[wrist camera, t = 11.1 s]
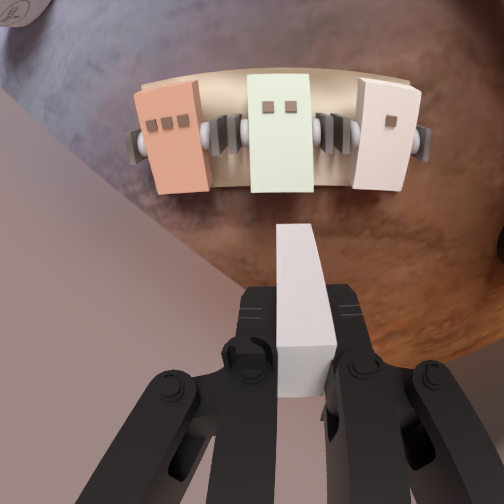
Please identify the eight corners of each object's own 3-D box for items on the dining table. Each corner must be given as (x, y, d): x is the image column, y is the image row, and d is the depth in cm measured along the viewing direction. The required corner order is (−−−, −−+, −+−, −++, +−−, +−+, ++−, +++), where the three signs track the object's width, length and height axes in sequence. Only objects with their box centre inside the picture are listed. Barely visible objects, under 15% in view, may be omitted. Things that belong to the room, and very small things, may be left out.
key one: (349, 75, 18) (358, 81, 16) (416, 86, 17) (429, 94, 16) (341, 176, 25) (346, 190, 23) (398, 179, 24) (407, 193, 23)
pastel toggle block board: (146, 85, 23) (114, 85, 18) (405, 80, 21) (436, 81, 15) (160, 187, 30) (136, 211, 24) (398, 185, 27) (424, 208, 22)
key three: (137, 90, 20) (125, 97, 18) (205, 78, 19) (199, 82, 17) (159, 183, 27) (151, 196, 25) (219, 179, 26) (215, 192, 24)
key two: (242, 82, 21) (238, 74, 19) (313, 81, 20) (317, 73, 18) (245, 190, 24) (242, 193, 22) (317, 190, 23) (322, 192, 21)
